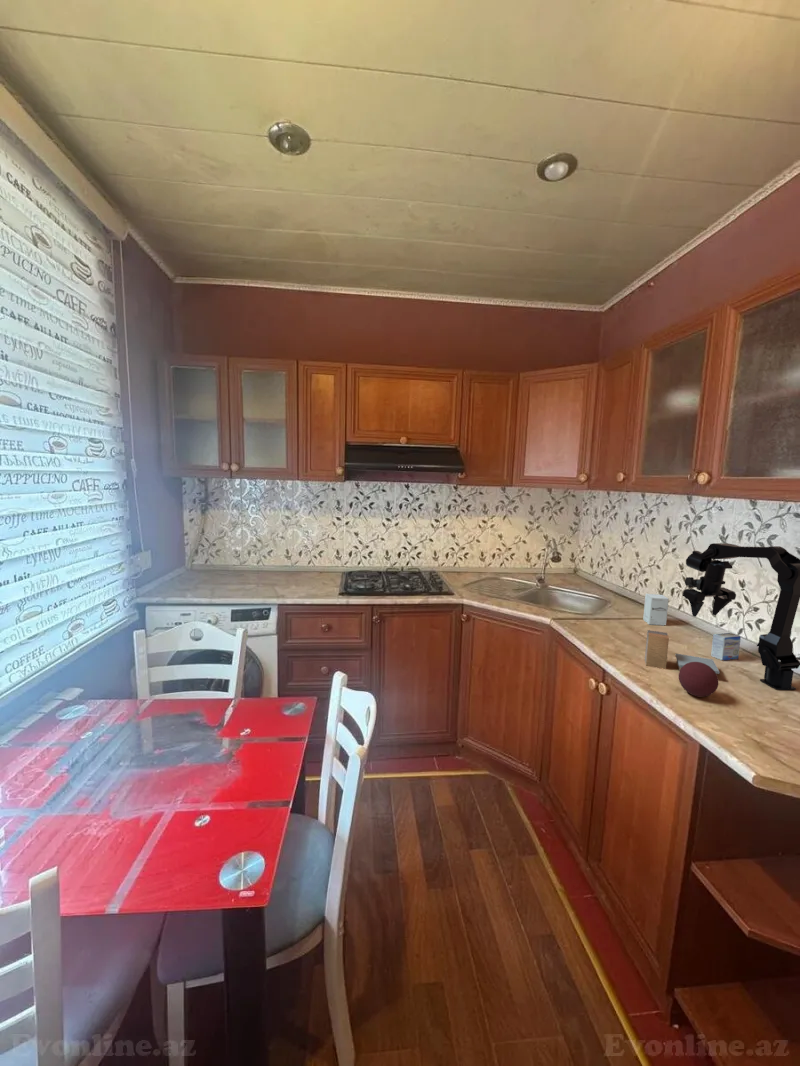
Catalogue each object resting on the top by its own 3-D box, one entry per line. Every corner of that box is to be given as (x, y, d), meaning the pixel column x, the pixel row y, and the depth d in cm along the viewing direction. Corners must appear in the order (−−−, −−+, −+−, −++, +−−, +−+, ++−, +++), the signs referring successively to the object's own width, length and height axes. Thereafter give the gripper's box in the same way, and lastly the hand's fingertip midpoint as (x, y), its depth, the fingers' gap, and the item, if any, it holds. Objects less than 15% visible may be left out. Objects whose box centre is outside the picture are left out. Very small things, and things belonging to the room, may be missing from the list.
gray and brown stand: (711, 668, 154) (712, 659, 153) (718, 681, 144) (719, 671, 144) (674, 662, 158) (675, 653, 158) (678, 674, 149) (679, 664, 148)
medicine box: (721, 661, 160) (724, 637, 159) (710, 656, 165) (712, 633, 164) (738, 659, 163) (741, 636, 161) (726, 654, 167) (729, 632, 166)
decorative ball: (670, 685, 140) (673, 655, 139) (704, 688, 139) (708, 657, 138) (687, 701, 130) (691, 669, 129) (724, 704, 129) (728, 671, 128)
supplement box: (648, 624, 199) (651, 597, 198) (642, 619, 206) (645, 593, 205) (666, 626, 198) (669, 598, 196) (660, 620, 205) (662, 594, 204)
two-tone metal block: (664, 662, 158) (667, 632, 156) (665, 669, 152) (668, 638, 151) (644, 659, 160) (647, 630, 159) (645, 665, 155) (648, 635, 153)
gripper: (714, 568, 172) (705, 605, 176) (674, 569, 168) (666, 607, 172) (741, 578, 162) (731, 617, 166) (700, 580, 157) (690, 620, 162)
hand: (704, 615), depth 167 cm, fingers open, 9 cm apart
